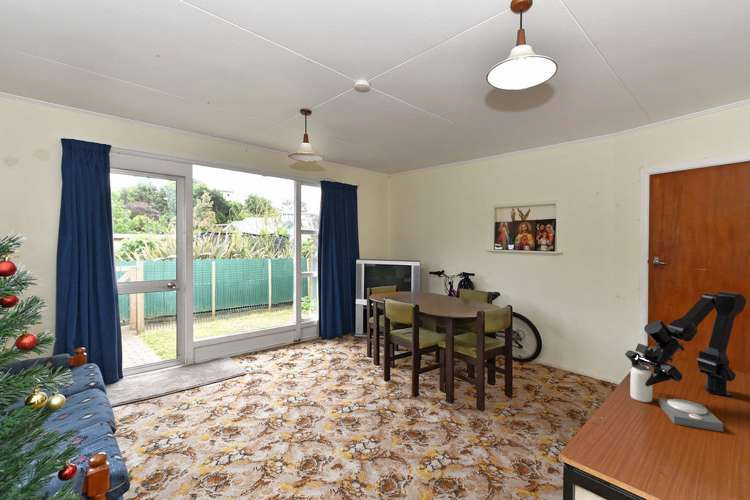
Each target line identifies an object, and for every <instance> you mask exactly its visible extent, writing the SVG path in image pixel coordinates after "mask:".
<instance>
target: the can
mask: <svg viewBox="0 0 750 500" xmlns="http://www.w3.org/2000/svg"><path fill="white" fill-rule="evenodd" d="M631 367H632V368H630V371H631V379H630V384H629V386H630V392H629V393H630V397H631V398H632V399H633V400H635V401H638V402H641V403H651V402H652V401H653V385H650V386H646V385H645V383H646V382H647V380H648V379H649V378H650V376H651V375H652V374H653V372H652V367H650V366H648V365H632V364H631Z"/></svg>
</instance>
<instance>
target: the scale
mask: <svg viewBox="0 0 750 500" xmlns="http://www.w3.org/2000/svg"><path fill="white" fill-rule="evenodd" d="M658 405H659V406H660V408H661V409H662V411H663V412H664V413H665V414H666V415H667V417H668V418H669V420H670V421H671V422H672V424H674V425H678V426H686V427H692V428H697V429H702V430H703V429H705V430H709V431H717V432H722V433H723V432H724V423H723V422H722V421H721V420H720V419H718V417H716V416H715V415H714V414H713V413H712V412H711V411H710V410H709V409H708V408H707V407H706V406H705V405H704V404H703V403H698V402H695V401H690V400H687V399H683V398H682V399H681V398H662V397H658Z"/></svg>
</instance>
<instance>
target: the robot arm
mask: <svg viewBox="0 0 750 500" xmlns="http://www.w3.org/2000/svg"><path fill="white" fill-rule="evenodd" d="M746 304H747V299H746V298H745V296H744V294H741V293H736V292H728V291H719V292H717V293H702V294H701V296H700V299H699V300H698V301H697V302H696V303H695V304H694V305H693V306H692V307H691V308H690V309H689V310H688V311H687V312H686V313H685V314H684V315H683V316H682V317H681V318H676V319H674V320H673V321H671V322H670V323H669V324H668V325H666V324H665V322H664V321H662V320H660V319H656V320H655V321H653V322H649V323H647V324H645V325H644V329H643V330H644V332H645V333H646V334H647V335H648V336H649V338H650V339H651V340H653V342H655V343H657V344H656V345H655V346H653V345H651V346H648V345H645V344H643V343H639V342H638V343H637V346H636V348H635V351H633V350H630V349H629V350H627V351H626V352H625V353H624V355H625V357H627V358H628V360H629V361H631V368H632V365H643V366H647V367H649V368H653V372H652V375H651V376H650V378H649V379H648V380H647V382H646V383H645V385H646V386H650V385H652V386H654V385H655V384H659V383H662V382H666V381H672V380H673V381H675V382H678V383H680V382H681V381H682V379H683V374H682V373H681V372H680V370H679V369H678V368H677V367H676V366H674V365H672V364H669V362H670V363H672V362H673V361H674V359H673V358H672V357H673V356H674V355H675V354H676V353H677V352H678V351H682V352H684V351H685V347H684V343H682V342H680V341H683V342H691V341H693V340H694V338H695V336H696V335H697V334H698V326H699V325H700V324H701V323H702V322H703V321H704V320H705V319H706V317H708V315H709V314H711V312H713V310H714V309H715V312H716V316H715V320H714V323H713V327H712V330H711V335H710V338H709V342H708V346H707V348H706V349H705V350H700V351H699V352H698V356H697V358H696V361H697V366H698V368H699V372H700V373H701V374H705V375H706V383H705V384H706V385H702V388H703V389H704V390H705V391H707V392H708V393H709V394H711V395H720V396H726V397H727V396H728V397H732V394H731V393H730V392H729V391H728V382H733V381H735V379H736V373H735V372H734V371H733V370H732V368H730V359H729V357H728V355H727V349H728V345H729V341H730V337H731V332H732V330H733V326H734V321H735V318H736V317H737V316H738V315H739V314H741V313H742V312H743V311H744V309H745V306H746ZM631 368H630V369H631ZM628 375H629V376H628V378H629V379H630V380H631V370H630V372H629V374H628Z"/></svg>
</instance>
